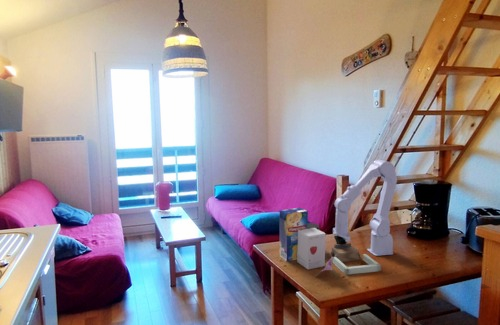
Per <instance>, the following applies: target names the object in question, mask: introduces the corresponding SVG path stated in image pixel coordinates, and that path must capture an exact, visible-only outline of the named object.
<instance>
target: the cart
mask: <svg viewBox="0 0 500 325" xmlns="http://www.w3.org/2000/svg"><path fill="white" fill-rule="evenodd" d="M336 254H337V255H336ZM335 255H336V256H335ZM330 256H331V257H332V256H333V257H334V256H335V257H337V258H338V259H339V260H340V261H341V262H342V263H343V262H352V261H360V259H361V254H360V251H359V250H358V249H357V248H355V247H354V246H353V245H352V243H350V242H347V243H346V244H337V243H336V244H334V246H333V247H331V252H330ZM333 257H332V258H333Z"/></svg>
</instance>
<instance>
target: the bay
mask: <svg viewBox="0 0 500 325" xmlns="http://www.w3.org/2000/svg"><path fill="white" fill-rule="evenodd" d="M332 259H333V260H332V264H333V265H335V266H336V268H338V269H339V270H340V272H342V273H343V274H344V275H346V276H347V275H354V274H365V273H374V272H375V273H376V272H381V271H382V265H381V264H380V263H379V262H377V261H376V260H375V259H373V258H372V257H371V256H369V255H368V254H367V253H362V261H364V262H365V263H366V264H364V265H354V266H347V265H346V264H344V263H343V262H341V261H340V260H339V259H338V258H337V257H334V258H333V257H332Z"/></svg>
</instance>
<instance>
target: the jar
mask: <svg viewBox="0 0 500 325" xmlns="http://www.w3.org/2000/svg"><path fill="white" fill-rule="evenodd" d="M310 228H316V229H318V230H320V225H319V224H318V223H314V222H308V229H310Z"/></svg>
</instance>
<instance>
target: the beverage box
mask: <svg viewBox="0 0 500 325" xmlns="http://www.w3.org/2000/svg"><path fill="white" fill-rule="evenodd" d="M308 218H309V211H308V210H307V209H304V208H301V207H294V208H286V209H281V210H280V209H279V245H278V246H279V258H282V260H284V261H285V262H287V263H288V262H291V261H297V250H298V230H303V229H308V223H309V219H308Z"/></svg>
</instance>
